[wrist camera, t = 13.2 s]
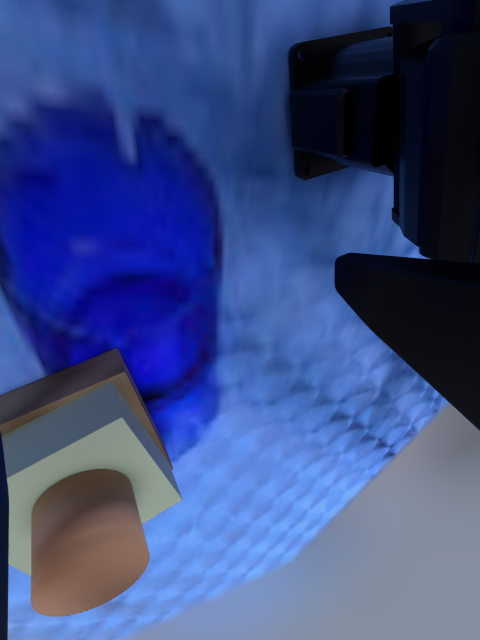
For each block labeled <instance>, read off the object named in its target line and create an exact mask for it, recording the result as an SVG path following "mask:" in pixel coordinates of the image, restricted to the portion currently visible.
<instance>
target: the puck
mask: <svg viewBox="0 0 480 640" xmlns="http://www.w3.org/2000/svg"><path fill="white" fill-rule="evenodd" d="M149 558H150V557H149V551H148V547H147V543H146V539H145V535H144V531H143V527H142V523H141V519H140V515H139V511H138V507H137V503H136V499H135V495H134V492H133V488H132V484H131V481H130V480H129V478H128V477H127V476H126V475H124V474H123V473H120V472H118V471H115V470H109V469H95V470H89V471H84V472H80V473H77V474H74V475H71V476H69V477H67V478H65V479H63V480H61V481H59V482H57V483H56V484H54V485H53V486H51V487H50V488H49V489H47V490H46V491H45V492H44V493H43V494H42V495H41V496H40V497H39V499H38V500H37V501H36V503H35V505H34V507H33V509H32V515H31V604H32V607H33V609H34V610H35V611H36V612H38V613H40V614H42V615H46V616H68V615H73V614H77V613H81V612H84V611H87V610H90V609H93V608H95V607H97V606H100V605H102V604H104V603H106V602H108V601H110V600H111V599H113V598H115V597H117V596H118V595H120V594H121V593H123V592H124V591H125V590H127V589H128V588H129V587H130V586H131V585H133V584H134V583H135V582H136V581H137V580H138V579H139V578H140V576H141V575H142V574H143V572H144V571H145V569H146V568H147V566H148V563H149Z"/></svg>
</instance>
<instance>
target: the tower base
mask: <svg viewBox="0 0 480 640" xmlns="http://www.w3.org/2000/svg"><path fill="white" fill-rule="evenodd" d="M110 381H113V382H114V384H115V385H116V387H117V388H118V390H119V391H120V393H121V394H122V395H123V397H124V398H125V400H126V401H127V403H128V404H129V406H130V407H131V409H132V410H133V411H134V413H135V414H136V416H137V417H138V419H139V420H140V422H141V423H142V425H143V426H144V427H145V429H146V430H147V432H148V433H149V435H150V436H151V438H152V439H153V441H154V442H155V443H156V445H157V446H158V448H159V449H160V451H161V452H162V454H163V455H164V457H165V458H166V459H167V461H168V462H169V464H170V467H171V470H172V469H173V467H172V464H171V461H170V458H169V456H168V453H167V450H166V448H165V445H164V443H163V441H162V438H161V436H160V434H159V432H158V430H157V428H156V426H155V424H154V422H153V420H152V418H151V416H150V414H149V412H148V410H147V408H146V406H145V404H144V402H143V400H142V397H141V395H140V393H139V391H138V389H137V387H136V385H135V383H134V381H133V379H132V377H131V375H130V373H129V371H128V369H127V367H126V365H125V363H124V361H123V359H122V356H121V354H120V352H119V350H118V348H116V349H113V350H111V351H108V352H106V353H103V354H101V355H99V356H96V357H94V358H91V359H89V360H86V361H84V362H81V363H79V364H76V365H74V366H72V367H69V368H67V369H64V370H62V371H59V372H57V373H54V374H52V375H49V376H47V377H45V378H42V379H40V380H37V381H35V382H32V383H30V384H27V385H25V386H22V387H20V388H18V389H15V390H13V391H10V392H8V393H5V394H3V395H0V430H1V434H2V436H3V435H5V434H7V433H9V432H11V431H13V430H15V429H17V428H19V427H21V426H23V425H25V424H27V423H28V422H30V421H32V420H34V419H36V418H38V417H40V416H42V415H44V414H46V413H48V412H50V411H52V410H54V409H56V408H58V407H60V406H62V405H64V404H66V403H68V402H70V401H72V400H74V399H76V398H78V397H80V396H82V395H84V394H86V393H88V392H90V391H92V390H94V389H96V388H98V387H100V386H102V385H104V384H106V383H108V382H110Z"/></svg>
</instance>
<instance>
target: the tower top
mask: <svg viewBox="0 0 480 640" xmlns="http://www.w3.org/2000/svg"><path fill="white" fill-rule="evenodd" d="M2 442H3V450H4V458H5V466H6V474H7V482H8V492H9V562H8V564H9V565H11V566H13V567H15V568H17V569H18V570H20V571H22V572H24V573H26V574H28V575H29V576H31V515H32V509H33V507H34V505H35V503H36V501H37V500H38V499H39V497H40V496H41V495H42V494H43V493H44V492H45V491H46V490H47V489H49V488H50V487H51V486H53V485H54V484H56V483H57V482H59V481H61V480H63V479H65V478H67V477H69V476H71V475H74V474H77V473H80V472H84V471H89V470H95V469H109V470H115V471H118V472H120V473H123V474H124V475H126V476H127V477H128V478H129V480H130V481H131V484H132V488H133V492H134V495H135V499H136V503H137V507H138V511H139V515H140V519H141V523H142V524H143V523H145V522H147V521H148V520H150V519H152V518H153V517H155V516H156V515H158V514H160V513H161V512H163V511H165V510H166V509H168V508H170V507H171V506H173V505H174V504H176V503H178V502H179V501H181V500H182V497H181V495H180V492H179V489H178V486H177V484H176V481H175V478H174V475H173V473H172V470H171V467H170V464H169V462H168V461H167V459H166V458H165V457H164V455H163V454H162V452H161V451H160V449H159V448H158V446H157V445H156V443H155V442H154V441H153V439H152V438H151V436H150V435H149V433H148V432H147V430H146V429H145V427H144V426H143V425H142V423H141V422H140V420H139V419H138V417H137V416H136V414H135V413H134V411H133V410H132V409H131V407H130V406H129V404H128V403H127V401H126V400H125V398H124V397H123V395H122V394H121V393H120V391H119V390H118V388H117V387H116V385H115V384H114V382H113V381H110V382H108V383H106V384H104V385H102V386H100V387H98V388H96V389H94V390H92V391H90V392H88V393H86V394H84V395H82V396H80V397H78V398H76V399H74V400H72V401H70V402H68V403H66V404H64V405H62V406H60V407H58V408H56V409H54V410H52V411H50V412H48V413H46V414H44V415H42V416H40V417H38V418H36V419H34V420H32V421H30V422H28V423H27V424H25V425H23V426H21V427H19V428H17V429H15V430H13V431H11V432H9V433H7V434H5V435H3V436H2Z"/></svg>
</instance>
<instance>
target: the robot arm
mask: <svg viewBox="0 0 480 640" xmlns="http://www.w3.org/2000/svg"><path fill="white" fill-rule="evenodd" d="M390 24H393V27H384V28H379V29H373V30H367V31H362V32H356V33H351V34H345V35H340V36H334V37H329V38H323V39H317V40H312V41H306V42H301V43H297V44H295V45H294V46H293V47H292V48H291V51H290V56H289V59H290V78H291V95H290V108H291V126H292V144H293V147H294V154H295V172H296V176H297V177H298V178H300V179H303V180H307V179H311V178H314V177H317V176H321V175H324V174H327V173H330V172H334V171H337V170H340V169H343V168H347V167H354V168H359V169H363V170H367V171H372V172H376V173H380V174H384V175H389V176H393V177H394V208H392V220H393V221H394V222H395V223H396V224H397V225H398V226H400V228H401V231H402V233H403V235H404V237H406V238H407V239H408V240H410V241H411V242H412V243H414V244H415V245H416V246H418V247H419V253H420V254H421V255H422V256H424V257H426V258H429V259H420V258H408V257H396V256H384V255H372V254H360V253H347V254H345V255H342V256H340V257H338V258H337V259H336V260H335V282H334V283H335V288H336V290H337V292H338V293H339V294H340V296H341V297H342V298H343V299H344V300H345V301H346V302H347V304H348V305H349V306H350V307H351V308H352V309H353V310H354V312H355V313H356V314H357V315H358V316H359V317H360V318H361V320H362V321H363V322H364V323H365V324H366V325H367V326H368V327H369V328H370V329H371V330H372V331H373V332H374V333H375V334H376V335H377V336H378V337H379V338H380V339H381V340H382V341H383V342H384V343H385V344H387V345H388V346H389V347H390V348H391V349H392V350H393V351H394V352H395V353H396V354H397V355H398V356H400V357H401V358H402V359H403V360H404V361H405V362H406V363H407V364H408V365H409V366H410V367H411V368H412V369H414V370H415V371H416V372H417V373H418V374H419V375H420V376H421V377H422V378H423V379H424V380H425V381H427V382H428V383H429V384H430V385H431V386H432V387H433V388H434V389H435V390H436V391H437V392H438V393H440V394H441V395H442V396H443V397H444V398H445V399H446V400H447V401H448V402H449V403H450V404H451V405H453V406H454V407H455V408H456V409H457V410H458V411H459V412H460V413H461V414H462V415H463V416H464V417H466V418H467V419H468V420H469V421H470V422H471V423H472V424H473V425H474V426H475V427H476V428H477V429H479V430H480V0H405V1H402V2H400V3H397V4H395V5H392V6H390ZM386 35H387V38H385V37H386ZM300 50H301V52H302V59H301V60H299V58H298V52H299V51H300ZM304 167H306V172H305V173H304V174H303V169H304ZM8 562H9V492H8V482H7V474H6V466H5V458H4V450H3V442H2V434H1V430H0V640H7V634H8Z"/></svg>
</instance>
